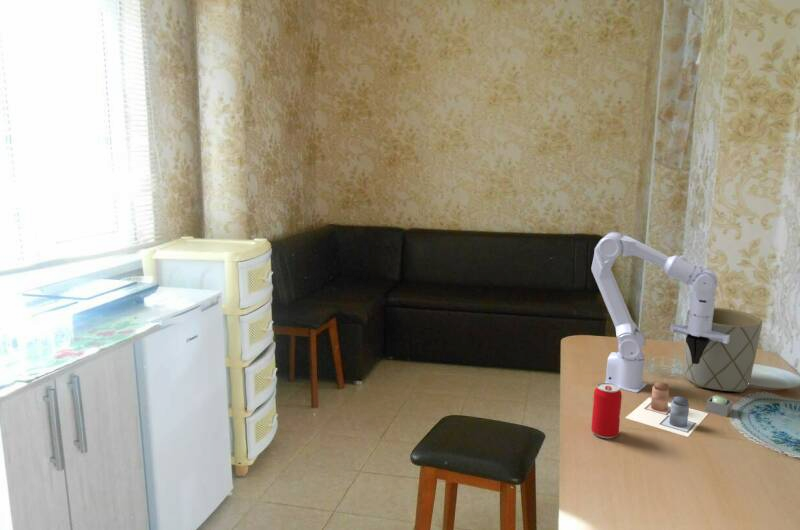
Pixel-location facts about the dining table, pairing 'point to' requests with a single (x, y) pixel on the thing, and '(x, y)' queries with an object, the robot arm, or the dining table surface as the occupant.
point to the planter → (726, 353)
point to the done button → (719, 400)
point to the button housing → (718, 407)
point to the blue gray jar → (679, 412)
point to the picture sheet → (665, 418)
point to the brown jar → (660, 397)
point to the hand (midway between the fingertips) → (695, 362)
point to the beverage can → (606, 410)
